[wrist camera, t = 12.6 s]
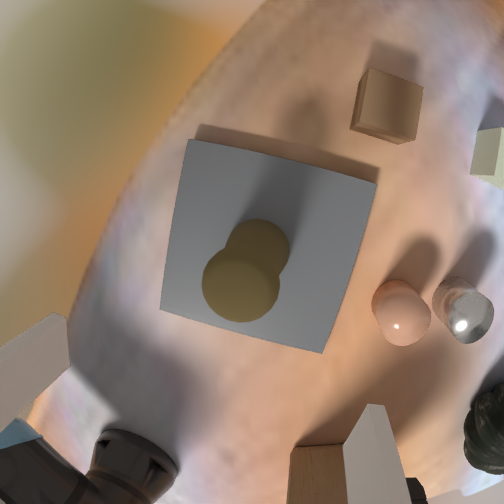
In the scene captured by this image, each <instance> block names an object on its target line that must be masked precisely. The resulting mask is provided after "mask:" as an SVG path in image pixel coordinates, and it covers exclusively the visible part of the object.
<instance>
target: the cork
mask: <svg viewBox="0 0 504 504" xmlns="http://www.w3.org/2000/svg"><path fill="white" fill-rule="evenodd" d="M289 253H290V250H289V242H288V240H287V238H286V236H285V234H284V232H283V231H282V230H281V229H280V228H279V227H278V226H277V225H275V224H273V223H271V222H270V221H267V220H262V219H252V220H247V221H245V222H243V223H241V224H239V225H238V226H237V227H236V228H235V229H234V230H233V231H232V232H231V234H230V236H229V238H228V240H227V242H226V245H225V248H224V249H222V250H220V251H218V252H217V253H216V254H215V255H214V256H213V257H212V258H211V259H210V260H209V261H208V263H207V265H206V267H205V269H204V271H203V276H202V284H201V286H202V291H203V296H204V298H205V300H206V302H207V304H208V306H209V307H210V308H211V309H212V310H213V311H214V312H215V313H216V314H217V315H219V316H221V317H223V318H224V319H226V320H229V321H233V322H238V323H242V322H251V321H254V320H257V319H259V318H261V317H262V316H264V315H265V314H266V313H267V312H269V311H270V310H271V309H272V307H273V305H274V304H275V302H276V301H277V299H278V294H279V290H280V278H279V275H280V274H281V272H282V271H283V269H284V267H285V266H286V264H287V262H288V258H289Z"/></svg>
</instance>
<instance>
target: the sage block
mask: <svg viewBox="0 0 504 504" xmlns="http://www.w3.org/2000/svg"><path fill="white" fill-rule="evenodd" d="M470 175H472V176H474V177H477V178H479V179H481V180H483V181H485V182H487V183H489V184H491V185H493V186H495V187H497V188H499V189H501V190H504V128H503V127H498V128H492V129H486V130H481V131H477V136H476V142H475V148H474V154H473V160H472V165H471V170H470Z"/></svg>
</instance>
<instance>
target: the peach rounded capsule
mask: <svg viewBox="0 0 504 504" xmlns="http://www.w3.org/2000/svg"><path fill="white" fill-rule="evenodd" d="M371 307H372V311H373V314H374V316H375V318H376V320H377V322H378V324H379V326H380V328H381V330H382V332H383V334H384V336H385V338H386V339H387V340H388V341H389V342H390V343H392V344H394V345H397V346H405V345H410V344H412V343H414V342H416V341H418V340H419V339H420V338H421V337H422V336H423V335H424V334H425V333H426V331H427V329H428V327H429V325H430V321H431V312H430V309H429V307H428V305H427V304H426V303H425V302H424V300H423V299H422V298H421V297H420V296H419V295H418V294H417V293H416V292H415V290H414V289H413V288H412V287H411V286H410V285H409V284H408V283H406V282H405V281H402V280H390V281H388V282H386V283H384V284H382V285H381V286H380V287H379V288H378V289H377V290H376V292H375V293H374V295H373V298H372V302H371Z"/></svg>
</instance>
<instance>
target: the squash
mask: <svg viewBox="0 0 504 504" xmlns="http://www.w3.org/2000/svg"><path fill="white" fill-rule="evenodd" d="M464 434H465V441H464V453H465V456H466V458H467V460H468V462H469V463H470V464H471V465H472V466H473V467H474V468H476V469H479V470H482V471H485V472H487V473H490V474H495V475H501V474H504V383H501V384H498V385H497V386H496V388H495V389H494V391H493V392H486V393H483V394H481V395H480V396H479V397H478V398H477V400H476V403H475V407H474V408H473V409H471V410H470V411H469V413H468V415H467V417H466V419H465V422H464Z"/></svg>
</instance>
